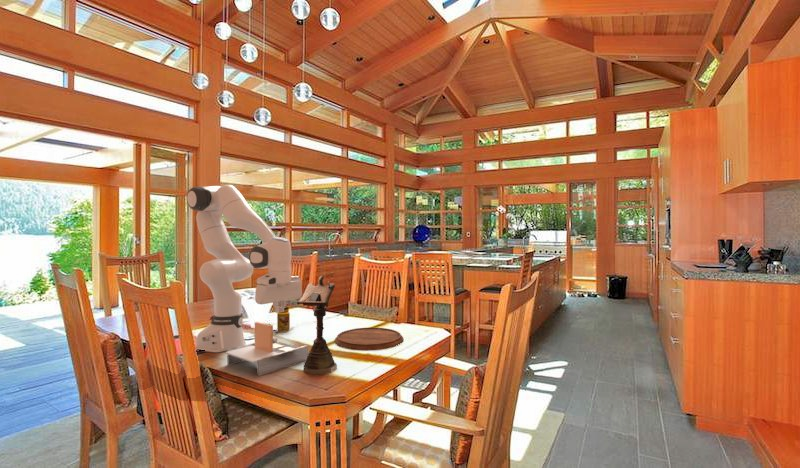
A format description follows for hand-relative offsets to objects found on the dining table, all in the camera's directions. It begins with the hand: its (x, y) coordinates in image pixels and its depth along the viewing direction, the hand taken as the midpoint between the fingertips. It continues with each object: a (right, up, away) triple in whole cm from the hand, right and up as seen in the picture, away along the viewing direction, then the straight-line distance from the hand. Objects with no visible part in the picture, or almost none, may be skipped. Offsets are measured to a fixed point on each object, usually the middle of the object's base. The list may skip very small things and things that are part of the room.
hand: (279, 312), depth 161 cm
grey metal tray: (-3, -19, -4) cm, 19 cm away
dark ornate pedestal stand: (+19, -19, -15) cm, 31 cm away
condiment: (-12, -18, +45) cm, 50 cm away
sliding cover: (-7, -14, -10) cm, 19 cm away
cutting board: (+34, -19, +27) cm, 47 cm away
